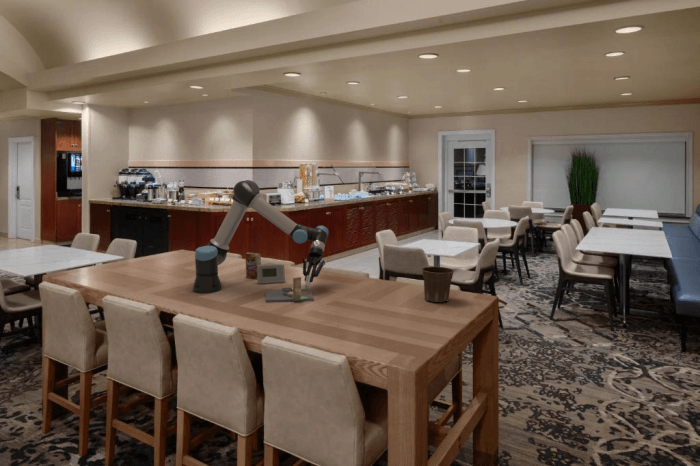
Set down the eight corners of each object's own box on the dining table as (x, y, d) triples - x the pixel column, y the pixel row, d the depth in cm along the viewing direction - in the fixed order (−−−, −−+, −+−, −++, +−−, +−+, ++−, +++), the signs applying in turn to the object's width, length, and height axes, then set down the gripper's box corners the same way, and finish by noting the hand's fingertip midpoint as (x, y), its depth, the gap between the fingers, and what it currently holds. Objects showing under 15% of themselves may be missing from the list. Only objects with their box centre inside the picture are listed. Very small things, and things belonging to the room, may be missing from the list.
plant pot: (448, 296, 262) (450, 266, 260) (456, 304, 246) (457, 272, 244) (418, 296, 262) (419, 266, 260) (424, 304, 246) (424, 272, 244)
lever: (280, 293, 259) (280, 273, 258) (289, 291, 262) (288, 271, 261) (294, 299, 247) (294, 278, 246) (302, 298, 250) (302, 277, 249)
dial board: (265, 303, 245) (265, 297, 245) (266, 292, 267) (266, 286, 267) (314, 302, 249) (314, 296, 248) (310, 290, 271) (310, 285, 270)
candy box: (245, 277, 302) (245, 253, 299) (250, 276, 305) (249, 252, 303) (256, 279, 297) (256, 254, 295) (261, 278, 301) (261, 253, 299)
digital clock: (256, 284, 285) (256, 266, 283) (257, 281, 294) (257, 263, 292) (284, 284, 286) (284, 266, 285) (285, 280, 295) (285, 263, 294)
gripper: (303, 246, 273) (292, 282, 260) (327, 247, 270) (317, 283, 256) (307, 253, 279) (296, 289, 265) (329, 255, 276) (320, 291, 262)
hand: (306, 286), depth 261 cm, fingers closed
